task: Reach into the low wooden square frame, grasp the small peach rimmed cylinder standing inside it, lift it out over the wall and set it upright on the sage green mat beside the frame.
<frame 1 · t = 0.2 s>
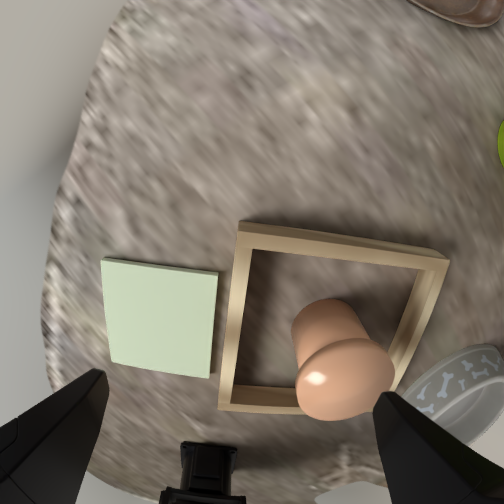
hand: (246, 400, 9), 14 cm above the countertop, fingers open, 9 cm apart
wooden square frame: (324, 328, 24), on the countertop
peach rimmed cylinder: (335, 355, 21), in the wooden square frame
dog bowl: (445, 398, 30), on the countertop
potting mat: (158, 321, 24), on the countertop
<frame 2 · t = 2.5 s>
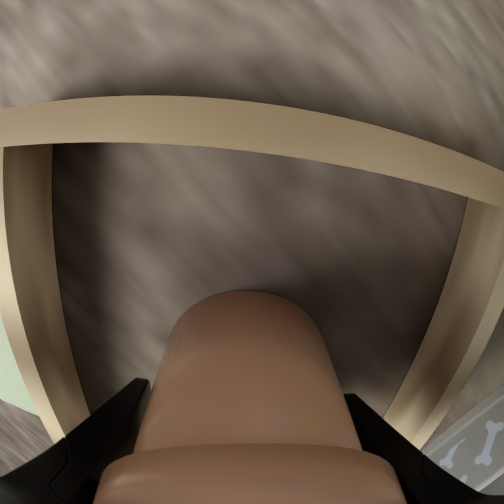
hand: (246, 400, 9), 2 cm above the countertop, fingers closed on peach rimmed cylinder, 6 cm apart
wooden square frame: (245, 360, 11), on the countertop
peach rimmed cylinder: (247, 439, 7), in the wooden square frame, touching gripper
dog bowl: (477, 445, 16), on the countertop
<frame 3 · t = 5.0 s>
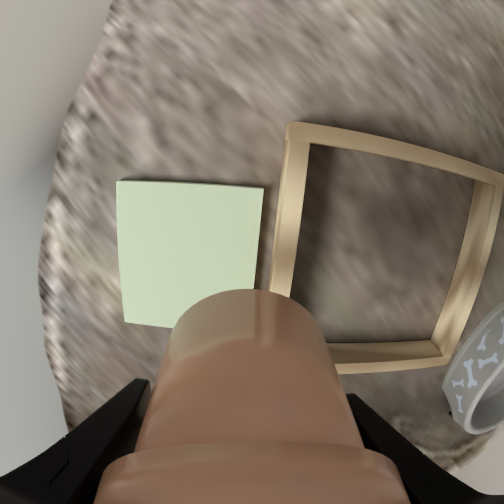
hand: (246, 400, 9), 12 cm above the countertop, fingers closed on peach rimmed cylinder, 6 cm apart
wooden square frame: (385, 260, 20), on the countertop
peach rimmed cylinder: (248, 438, 7), point 14 cm above the countertop, touching gripper
dog bowl: (497, 356, 25), on the countertop
potting mat: (185, 259, 20), on the countertop
when the fingers open (4 cm above the countertop, at t = 7.6 s): peach rimmed cylinder drops 1 cm, resting on potting mat.
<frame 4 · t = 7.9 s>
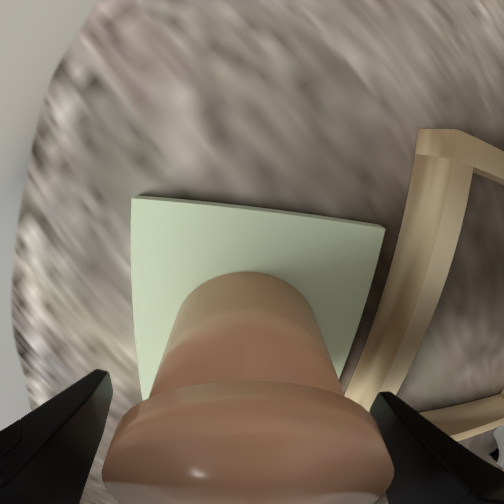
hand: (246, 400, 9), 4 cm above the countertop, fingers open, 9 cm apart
wooden square frame: (489, 318, 13), on the countertop
peach rimmed cylinder: (246, 404, 8), on the potting mat, point 4 cm above the countertop
potting mat: (245, 329, 12), on the countertop
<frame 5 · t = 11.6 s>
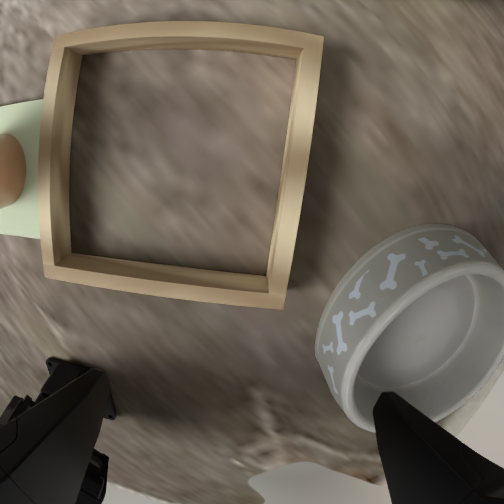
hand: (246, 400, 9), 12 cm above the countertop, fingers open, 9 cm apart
wooden square frame: (166, 157, 18), on the countertop
dog bowl: (414, 326, 23), on the countertop
potting mat: (6, 169, 17), on the countertop
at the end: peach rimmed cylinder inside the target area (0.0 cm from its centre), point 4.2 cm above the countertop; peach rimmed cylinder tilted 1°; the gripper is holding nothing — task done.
